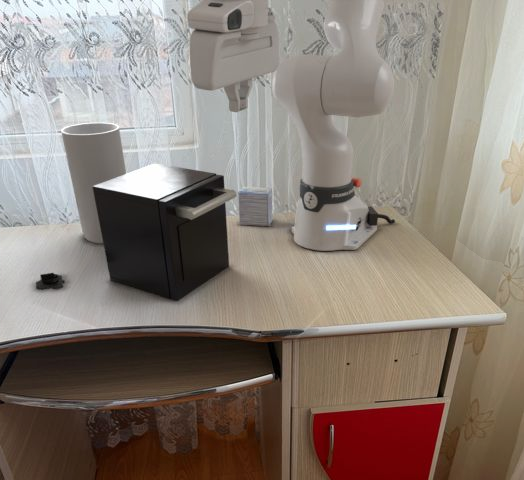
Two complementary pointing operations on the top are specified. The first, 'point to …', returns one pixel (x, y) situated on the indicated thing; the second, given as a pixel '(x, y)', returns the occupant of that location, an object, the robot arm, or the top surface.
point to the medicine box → (255, 206)
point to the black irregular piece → (50, 281)
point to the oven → (139, 223)
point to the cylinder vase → (92, 167)
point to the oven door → (195, 234)
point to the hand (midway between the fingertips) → (238, 110)
